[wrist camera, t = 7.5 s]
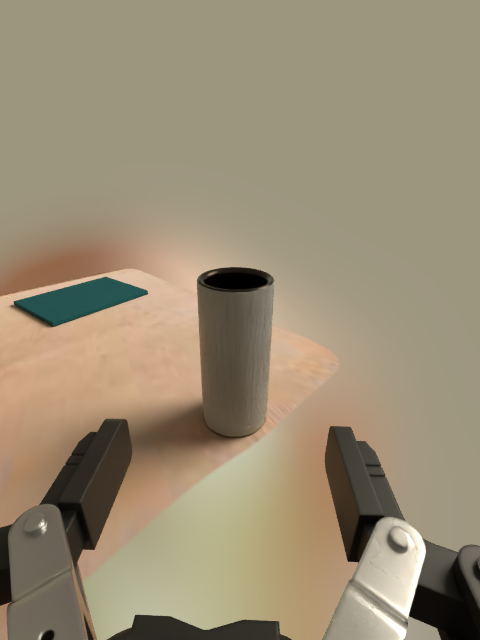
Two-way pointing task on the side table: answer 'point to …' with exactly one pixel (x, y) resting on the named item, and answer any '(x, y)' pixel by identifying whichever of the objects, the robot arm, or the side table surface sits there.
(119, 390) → the side table surface
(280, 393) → the side table surface
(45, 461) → the side table surface
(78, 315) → the towel
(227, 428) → the planter
